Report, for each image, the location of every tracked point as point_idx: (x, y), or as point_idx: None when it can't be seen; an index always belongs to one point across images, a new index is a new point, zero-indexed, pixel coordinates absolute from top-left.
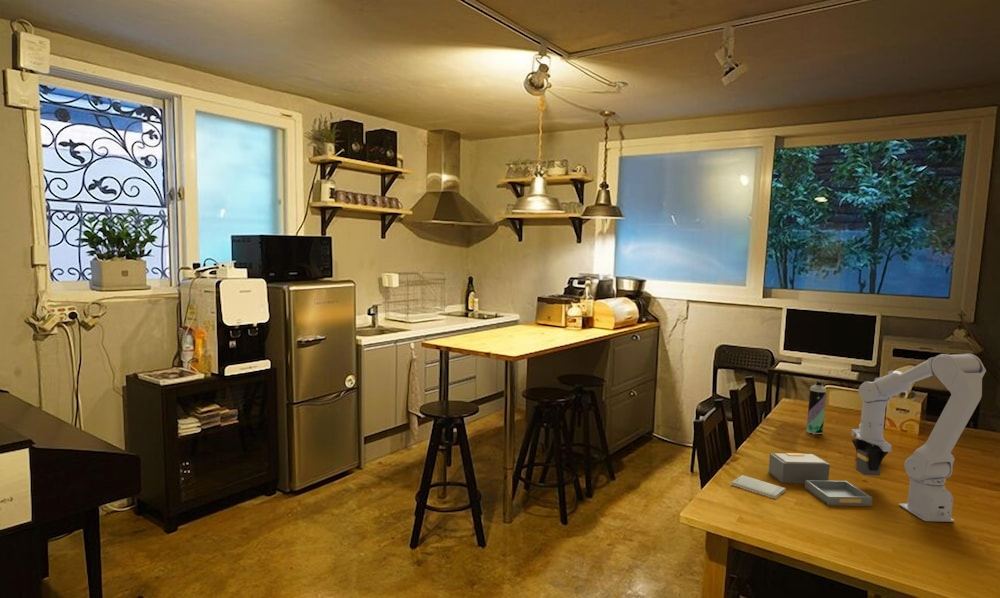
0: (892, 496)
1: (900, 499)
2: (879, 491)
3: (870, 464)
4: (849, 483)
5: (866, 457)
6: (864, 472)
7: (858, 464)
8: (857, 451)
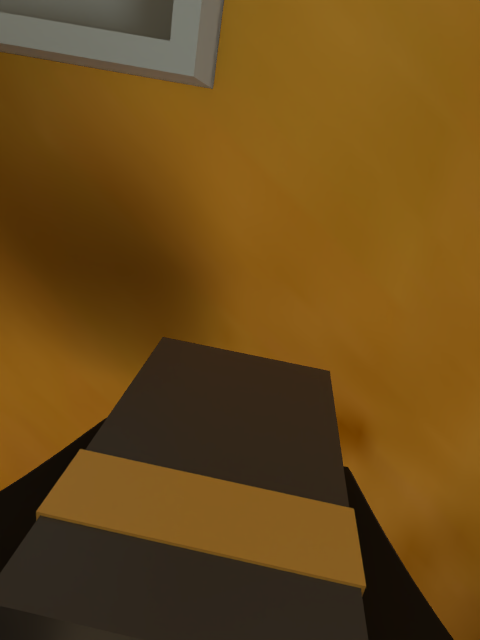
0: (51, 385)
1: (4, 395)
2: (139, 369)
3: (58, 456)
4: (111, 48)
5: (39, 509)
6: (165, 352)
7: (289, 411)
8: (416, 633)
